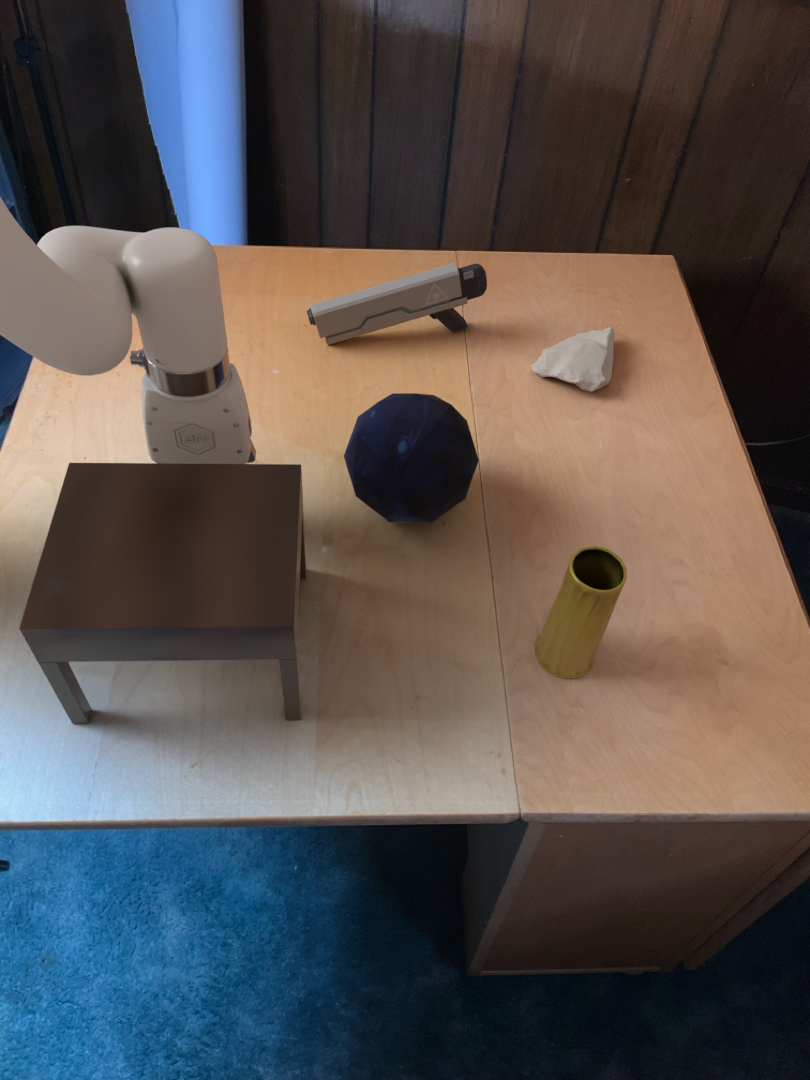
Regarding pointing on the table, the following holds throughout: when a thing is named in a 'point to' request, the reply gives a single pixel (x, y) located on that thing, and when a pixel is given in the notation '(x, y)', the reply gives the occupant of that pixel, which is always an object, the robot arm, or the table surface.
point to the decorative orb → (411, 457)
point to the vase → (581, 612)
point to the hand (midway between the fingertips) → (211, 495)
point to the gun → (400, 303)
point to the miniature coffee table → (170, 571)
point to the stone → (580, 359)
